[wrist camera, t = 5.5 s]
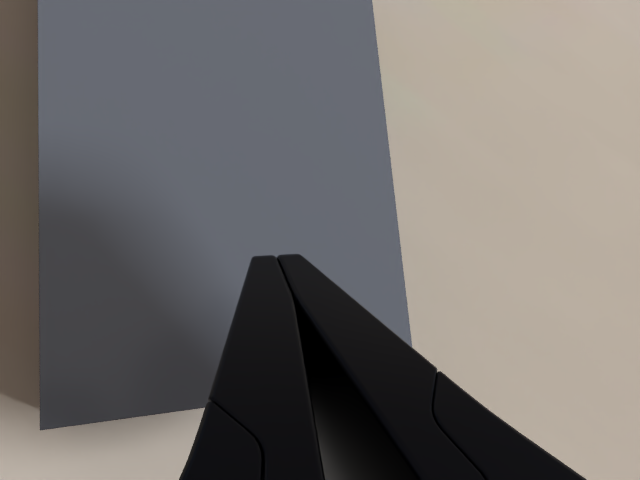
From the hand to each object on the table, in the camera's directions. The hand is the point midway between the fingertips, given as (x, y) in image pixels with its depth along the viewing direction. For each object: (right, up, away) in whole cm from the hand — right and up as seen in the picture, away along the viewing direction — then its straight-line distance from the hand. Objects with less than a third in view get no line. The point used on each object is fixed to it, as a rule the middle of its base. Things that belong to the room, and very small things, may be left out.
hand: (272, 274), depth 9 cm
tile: (-1, -4, +6) cm, 7 cm away
